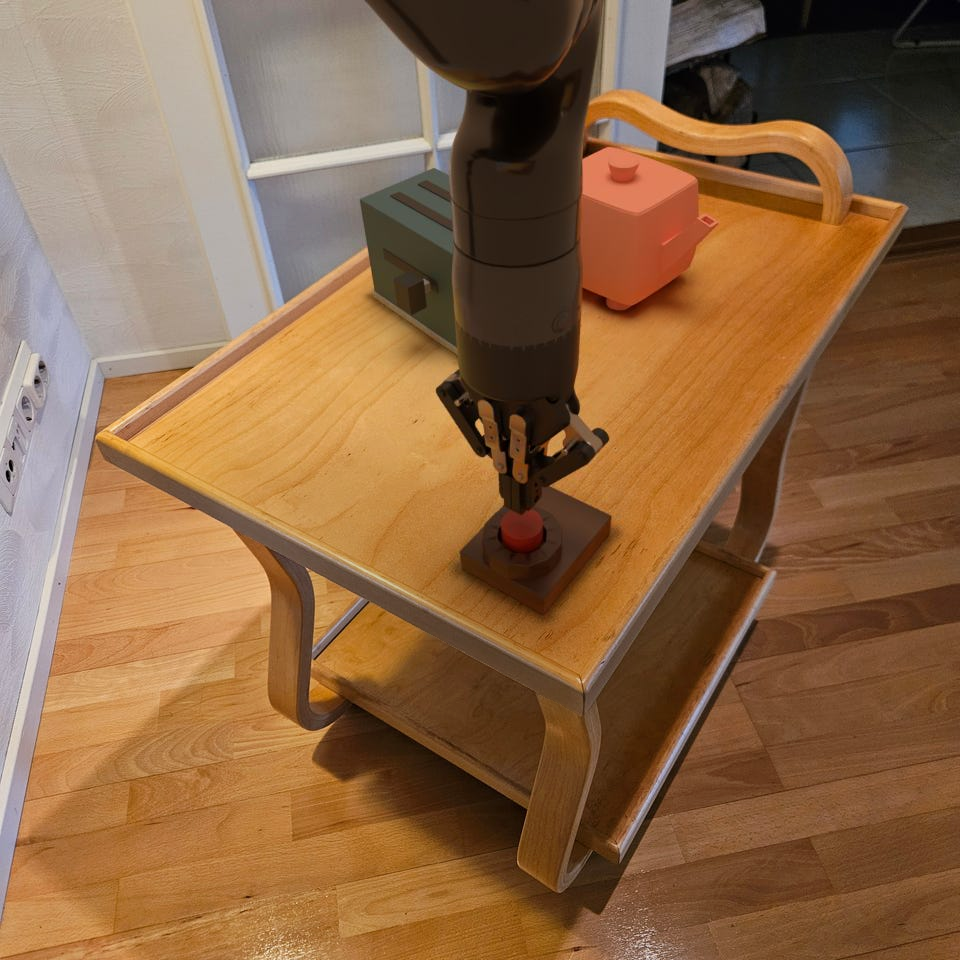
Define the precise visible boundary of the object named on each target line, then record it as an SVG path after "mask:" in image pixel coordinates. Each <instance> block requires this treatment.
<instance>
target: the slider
mask: <svg viewBox="0 0 960 960" xmlns="http://www.w3.org/2000/svg"><path fill="white" fill-rule="evenodd" d="M394 286H395V293H396V300H397V306H398V307H400V308H401V309H403V310H404V311H406V312H407V313H409V314H410V315H413V314H415V313H417V312H419V311H421V310H423V309H425V308H427V304H426V295H425V293H427V292H429V291H431V286H430V282H429V281H427V280H426V279H421V278H420V277H418V276H416V275H415V274H413V273H412V272H410V271H408V272H406V273H404V274H402V275H400V276H398V277H396V278H394Z"/></svg>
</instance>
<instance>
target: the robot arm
mask: <svg viewBox="0 0 960 960" xmlns="http://www.w3.org/2000/svg"><path fill="white" fill-rule="evenodd" d="M362 2H363V3H364V4H365V5H366V6H367V7H368V8H369V9H370V11H372V13H373V14H374V15H375V16H376V17H377V18H378V19H379V21H381V22H382V24H383V25H384V26H385V27H386V28H387V29H388V30H389V31H390V32H391V33H392V34H393V36H394V37H395V38H396V39H397V40H398V41H399V43H401V44H402V45H403V47H404V48H406V49H407V50H408V51H409V52H410V53H411V54H412V55H413V56H414V57H415V58H416V59H417V60H418V61H419V62H421V64H423V65H424V66H426V68H428V69H429V70H431V71H432V72H434V73H435V74H436V75H438V76H439V77H441V78H442V79H444V80H445V81H447V82H448V83H450V84H452V85H454V86H455V87H458V88H460V89H462V90H465V102H464V109H463V114H462V117H461V119H460V120H461V121H460V122H459V126H458V128H457V131H456V134H455V135H454V138H453V141H452V144H451V149H450V155H449V160H448V161H449V162H448V175H449V186H450V200H451V213H452V227H453V258H452V288H453V301H454V315H455V328H456V340H457V353H458V356H457V365H458V369H457V370H455V372H453V373H452V374H450V375H449V376H447V378H445V379H444V380H443V381H442V382H441V383H440V384H439V385H438V386H436V388H435V394H436V396H437V397H438V399H439V400H440V402H441V403H442V405H443V406H444V408H445V409H446V412H448V414H449V416H450V418H451V419H452V421H453V423H455V424H456V426H457V429H459V431H460V433H461V434H462V436H463V438H464V439H465V440H466V442H467V443H468V445H469V446H470V448H471V449H472V451H473V452H474V454H475V455H476V456H478V457H479V458H485V457H486V456H487V457H489V458H490V459H491V460H492V465H493V468H494V469H495V470H496V471H497V472H498V473H497V475H498V493H499V495H500V497H501V499H503V505H504V507H506V508H508V509H510V510H512V511H514V512H516V513H518V514H520V515H523V514H524V513H525V512H526V511H530V510H531V509H532V507H533V506H534V505H535V504H536V503H537V502H538V501H539V500H540V498H541V497H542V487H548V486H552V485H554V484H555V483H557V482H558V481H559V482H560V481H561V480H562V479H564V478H566V477H568V476H570V475H571V474H573V473H574V472H576V471H578V470H581V469H582V468H583V467H585V466H587V465H589V463H591V461H592V460H593V459H595V457H596V456H597V455H598V454H599V453H600V451H601V450H602V449H603V448H604V447H605V446H606V445H607V444H608V442H609V441H610V436H609V434H608V432H607V431H606V430H605V429H604V428H601V427H595V428H593V429H592V430H591V429H590V427H589V426H588V425H587V424H586V423H585V422H584V420H583V419H582V418H581V417H580V416H579V414H580V412H581V403H580V400H579V398H578V395H577V392H576V389H575V385H576V384H575V383H576V379H577V375H578V369H579V362H580V344H581V327H582V309H583V308H582V307H583V306H582V305H583V261H582V252H581V234H580V233H581V217H582V196H583V162H582V159H583V154H584V153H583V151H584V138H585V137H584V136H585V127H586V122H587V115H588V111H589V105H590V100H591V94H592V89H593V81H594V76H595V75H594V74H595V68H596V61H597V55H598V49H599V40H600V33H601V23H602V14H603V5H604V0H362ZM478 420H479V421H480V423H481V424H482V428H483V434H482V433H481V432H480V431H479V429H478V427H477V426H476V422H477V421H478ZM562 431H564V433H565V437H564V439H563V440H562V447H563V448H561V449H560V450H558V451H556V452H554V453H553V455H548V449H549V448H548V447H549V443H550V442H551V440H552V439H553V438H554V437H555V436H557V435H558V434H560V433H561V432H562Z"/></svg>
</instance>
